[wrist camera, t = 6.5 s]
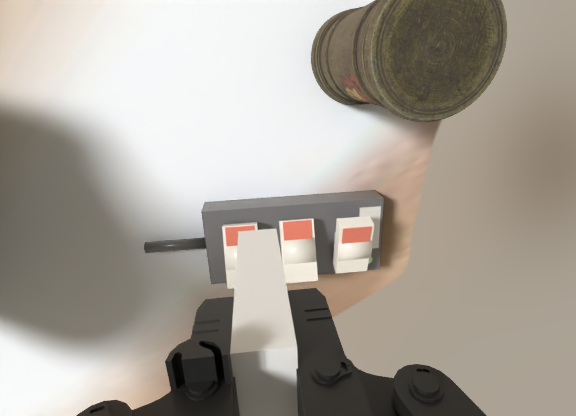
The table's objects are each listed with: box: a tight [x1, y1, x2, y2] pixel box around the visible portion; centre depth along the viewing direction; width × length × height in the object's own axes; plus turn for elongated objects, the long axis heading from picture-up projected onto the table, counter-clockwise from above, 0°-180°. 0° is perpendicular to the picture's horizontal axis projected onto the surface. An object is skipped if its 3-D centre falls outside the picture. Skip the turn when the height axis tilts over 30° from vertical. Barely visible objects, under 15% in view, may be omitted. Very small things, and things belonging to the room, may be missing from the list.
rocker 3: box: [333, 216, 374, 274], centre depth 39 cm, size 4×7×3 cm, turn 2°
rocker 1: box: [222, 222, 258, 289], centre depth 38 cm, size 4×7×3 cm, turn 2°
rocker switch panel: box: [144, 190, 384, 284], centre depth 41 cm, size 27×9×3 cm, turn 92°
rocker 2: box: [279, 218, 318, 283], centre depth 39 cm, size 4×7×3 cm, turn 2°
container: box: [311, 0, 507, 122], centre depth 29 cm, size 9×9×18 cm
